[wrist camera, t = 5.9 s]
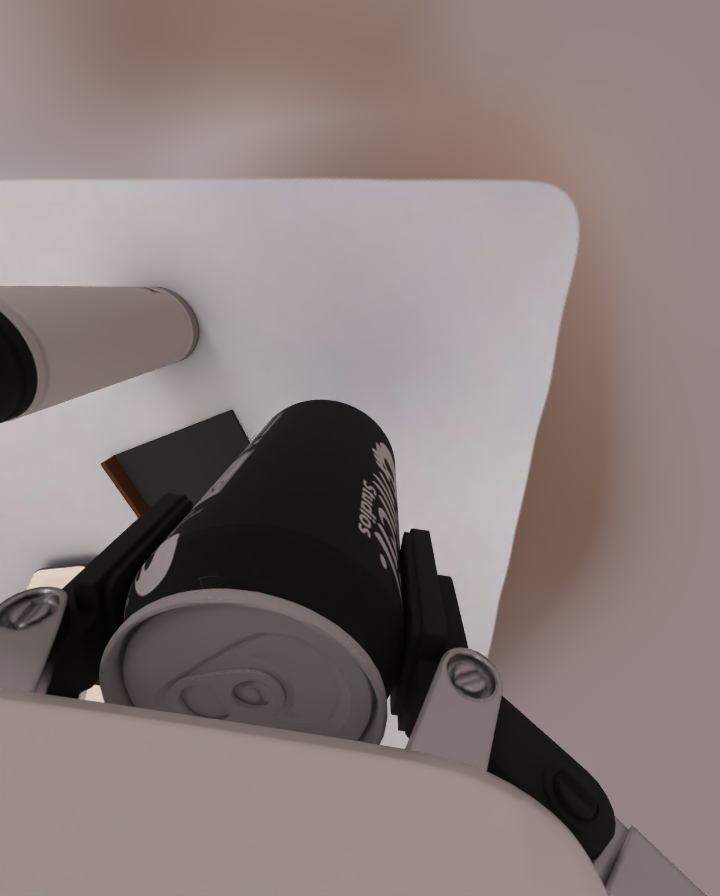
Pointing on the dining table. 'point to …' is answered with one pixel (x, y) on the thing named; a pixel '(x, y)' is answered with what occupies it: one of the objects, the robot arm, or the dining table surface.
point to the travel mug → (84, 340)
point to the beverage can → (276, 588)
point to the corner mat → (178, 462)
